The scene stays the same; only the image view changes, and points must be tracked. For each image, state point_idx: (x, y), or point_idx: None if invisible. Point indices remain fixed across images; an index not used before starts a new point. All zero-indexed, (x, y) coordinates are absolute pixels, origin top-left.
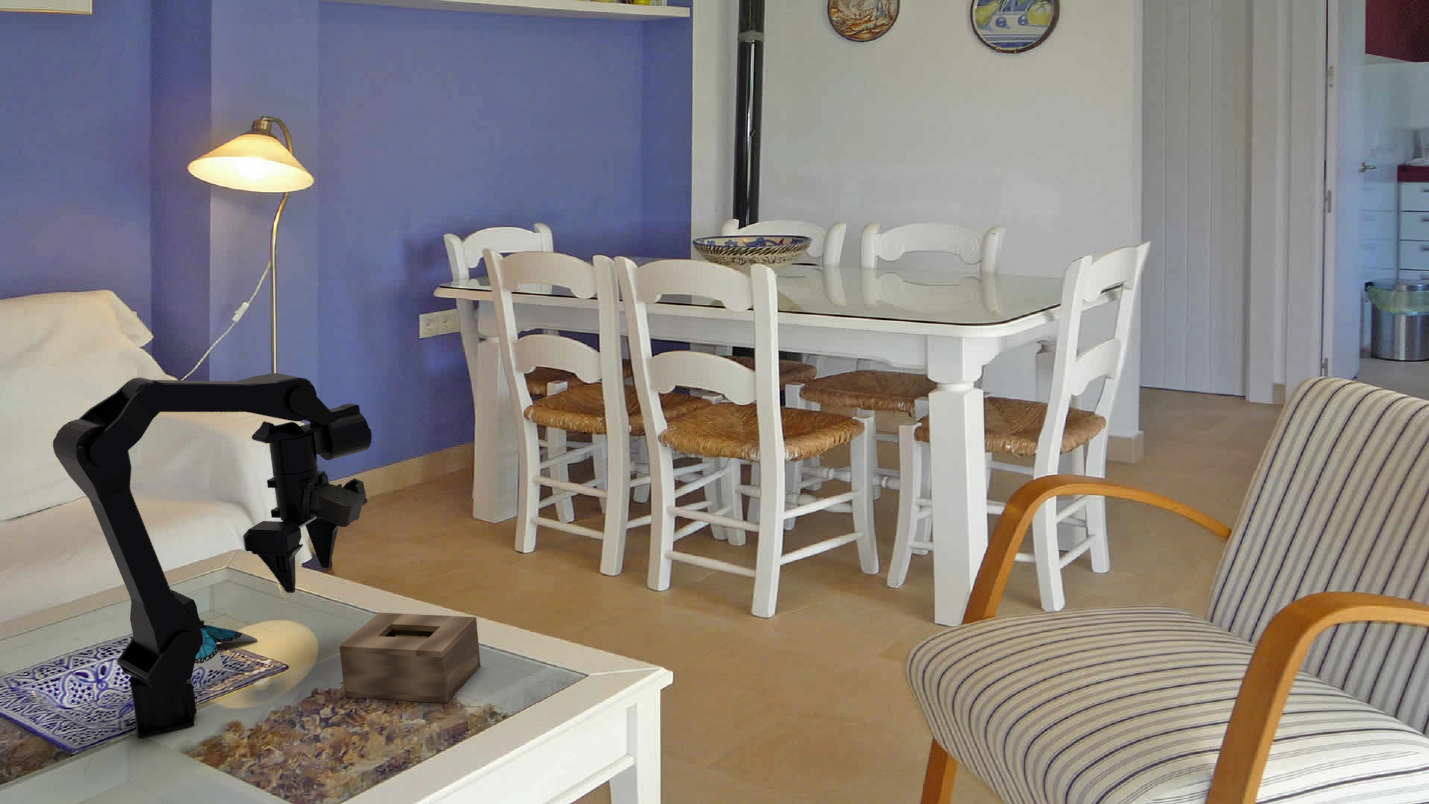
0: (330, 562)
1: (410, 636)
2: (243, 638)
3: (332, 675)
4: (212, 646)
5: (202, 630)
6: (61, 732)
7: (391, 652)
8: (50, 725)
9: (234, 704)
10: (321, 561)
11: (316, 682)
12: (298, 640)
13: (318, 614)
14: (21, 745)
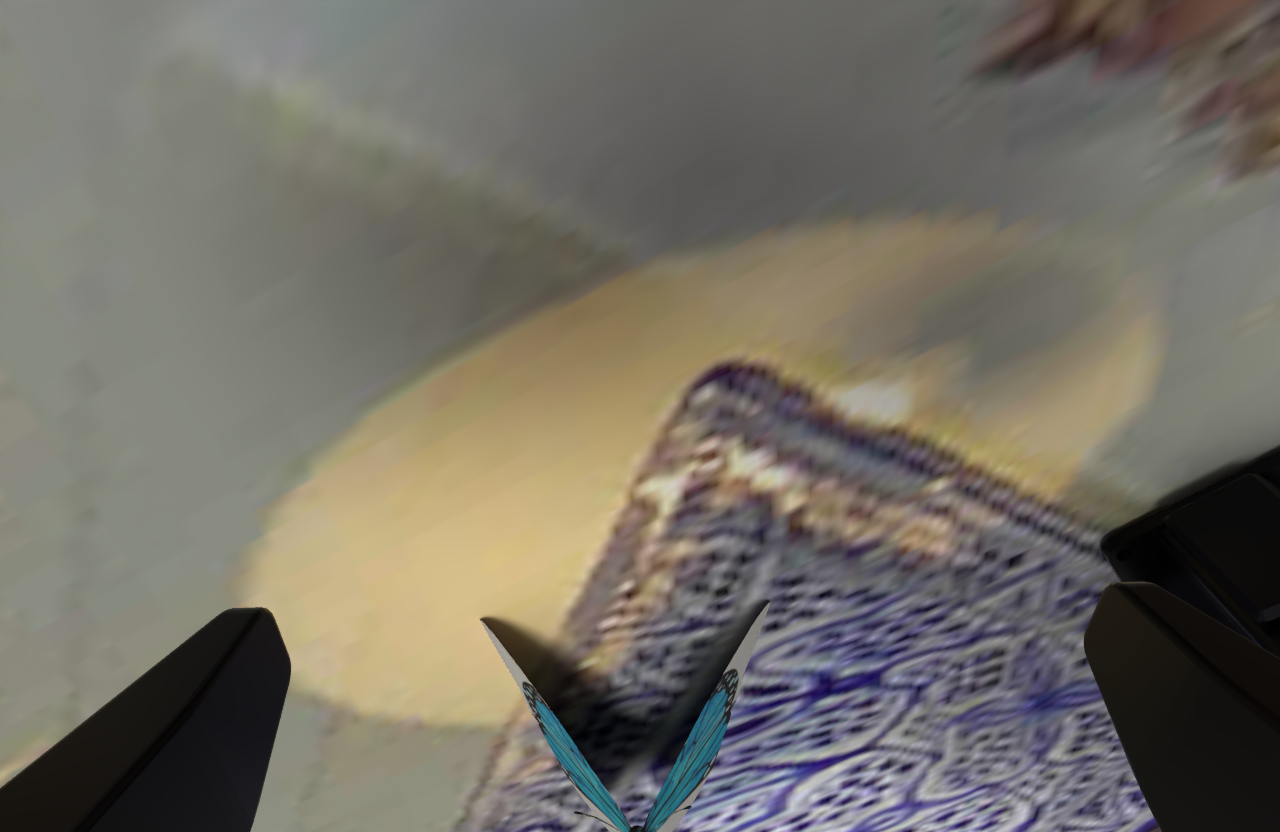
0: (198, 645)
1: None
2: (512, 666)
3: (810, 65)
4: (707, 710)
5: (657, 800)
6: None
7: None
8: None
9: (1114, 391)
10: (257, 741)
11: (904, 116)
12: (422, 477)
13: (126, 539)
14: None
